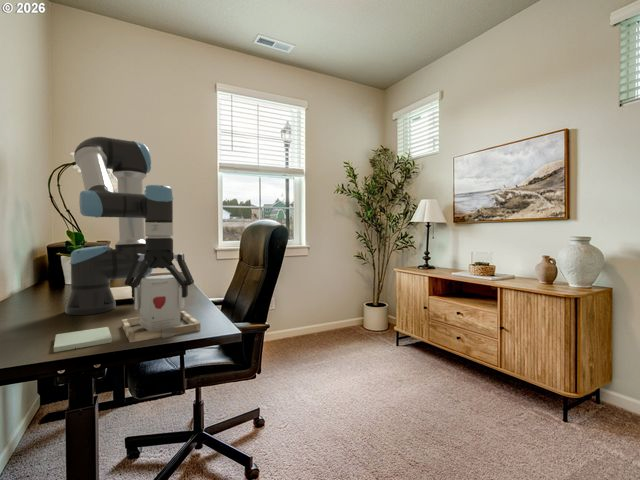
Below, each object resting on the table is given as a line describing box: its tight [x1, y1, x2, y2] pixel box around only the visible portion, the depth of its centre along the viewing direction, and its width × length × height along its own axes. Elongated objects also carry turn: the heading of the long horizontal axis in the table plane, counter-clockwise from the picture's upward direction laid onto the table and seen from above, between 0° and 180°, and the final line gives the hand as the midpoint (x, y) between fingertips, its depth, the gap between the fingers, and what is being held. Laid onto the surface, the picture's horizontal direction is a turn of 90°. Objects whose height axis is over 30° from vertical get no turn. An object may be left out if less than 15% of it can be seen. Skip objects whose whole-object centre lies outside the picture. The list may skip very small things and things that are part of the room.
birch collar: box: [121, 310, 201, 343], centre depth 100 cm, size 20×18×2 cm
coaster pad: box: [53, 326, 113, 353], centre depth 89 cm, size 12×12×1 cm
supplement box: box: [139, 274, 181, 331], centre depth 100 cm, size 9×9×15 cm
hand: (160, 308), depth 100 cm, fingers closed on supplement box, 12 cm apart
